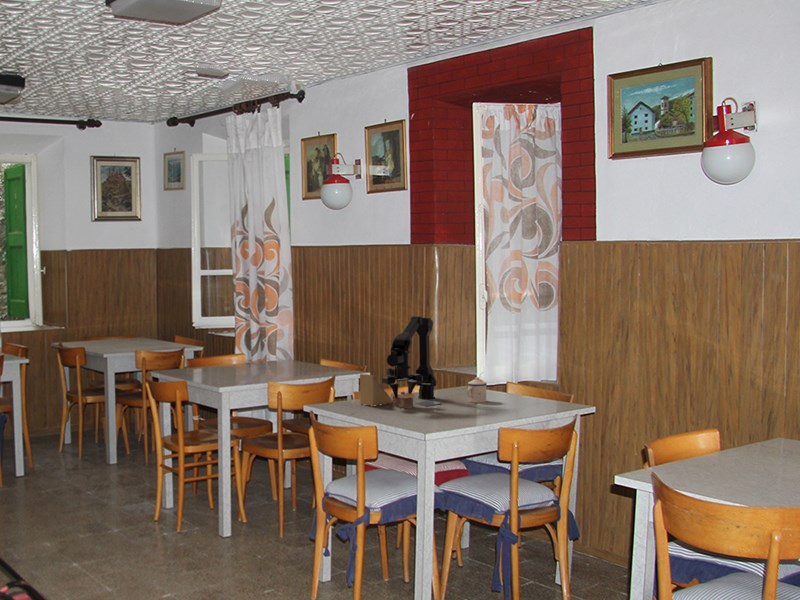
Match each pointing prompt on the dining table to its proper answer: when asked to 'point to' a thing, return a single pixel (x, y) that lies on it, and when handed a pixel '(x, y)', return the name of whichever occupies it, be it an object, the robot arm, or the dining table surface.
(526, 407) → the dining table surface
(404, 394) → the lid
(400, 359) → the robot arm
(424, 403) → the coaster
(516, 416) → the dining table surface
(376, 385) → the sandwich container
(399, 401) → the tea box
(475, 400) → the white printed mug
